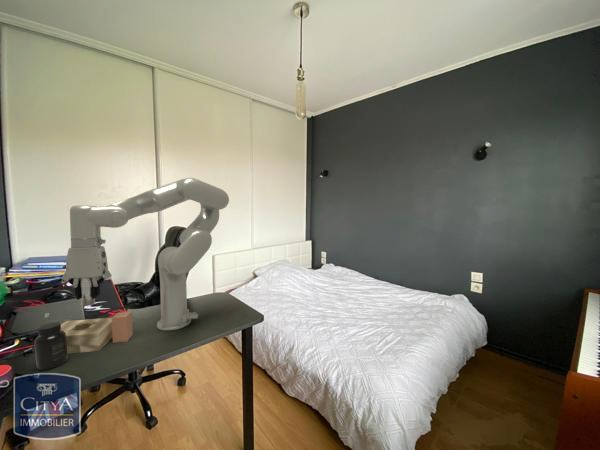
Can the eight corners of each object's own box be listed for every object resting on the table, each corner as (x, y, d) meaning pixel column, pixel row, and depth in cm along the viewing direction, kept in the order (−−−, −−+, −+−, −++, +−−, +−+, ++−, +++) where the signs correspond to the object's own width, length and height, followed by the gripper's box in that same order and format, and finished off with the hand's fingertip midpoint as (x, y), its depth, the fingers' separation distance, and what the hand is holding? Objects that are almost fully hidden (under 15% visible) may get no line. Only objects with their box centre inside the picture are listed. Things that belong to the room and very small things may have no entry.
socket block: (117, 332, 95) (116, 317, 95) (99, 350, 84) (98, 333, 83) (67, 336, 92) (66, 320, 91) (41, 356, 80) (40, 338, 80)
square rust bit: (132, 334, 94) (131, 311, 93) (127, 341, 90) (126, 316, 89) (119, 336, 93) (117, 312, 92) (112, 342, 89) (111, 317, 88)
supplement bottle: (68, 354, 81) (66, 318, 81) (67, 364, 76) (65, 326, 75) (37, 362, 77) (35, 324, 76) (34, 374, 72) (31, 333, 71)
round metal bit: (96, 301, 86) (96, 272, 86) (91, 305, 83) (90, 275, 82) (84, 302, 85) (83, 273, 85) (78, 306, 82) (77, 276, 81)
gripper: (120, 241, 89) (121, 292, 90) (63, 241, 84) (65, 295, 85) (110, 244, 81) (111, 300, 83) (47, 245, 77) (49, 303, 78)
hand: (87, 297), depth 84 cm, fingers closed on round metal bit, 3 cm apart
